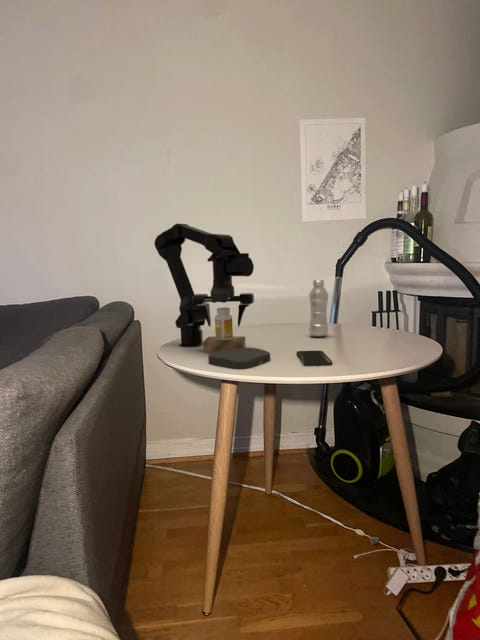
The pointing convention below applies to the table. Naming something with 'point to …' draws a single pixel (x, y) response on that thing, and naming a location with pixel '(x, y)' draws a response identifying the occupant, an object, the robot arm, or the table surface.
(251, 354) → the media streaming box
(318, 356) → the phone
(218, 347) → the block
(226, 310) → the supplement bottle
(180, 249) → the robot arm
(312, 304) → the plastic bottle
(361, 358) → the table surface
